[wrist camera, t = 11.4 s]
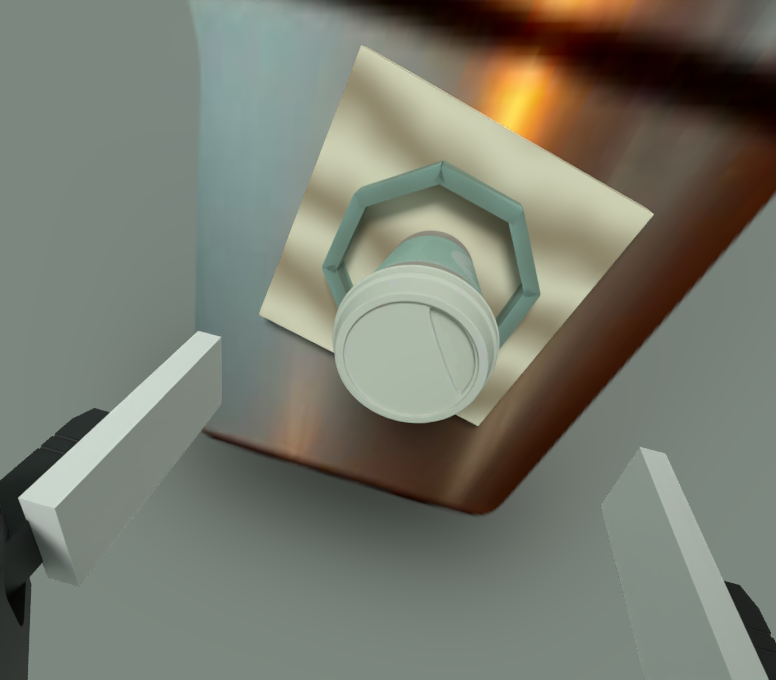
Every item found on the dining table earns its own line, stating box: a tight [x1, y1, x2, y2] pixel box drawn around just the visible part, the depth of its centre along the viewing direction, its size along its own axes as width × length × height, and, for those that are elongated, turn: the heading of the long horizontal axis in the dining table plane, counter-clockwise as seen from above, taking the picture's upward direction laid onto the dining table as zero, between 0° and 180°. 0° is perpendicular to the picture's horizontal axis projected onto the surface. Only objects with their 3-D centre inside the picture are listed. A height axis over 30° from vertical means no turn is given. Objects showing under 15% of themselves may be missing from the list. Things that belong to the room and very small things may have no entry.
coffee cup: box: [332, 230, 500, 423], centre depth 27 cm, size 8×8×12 cm
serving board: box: [259, 45, 654, 426], centre depth 32 cm, size 20×20×3 cm
